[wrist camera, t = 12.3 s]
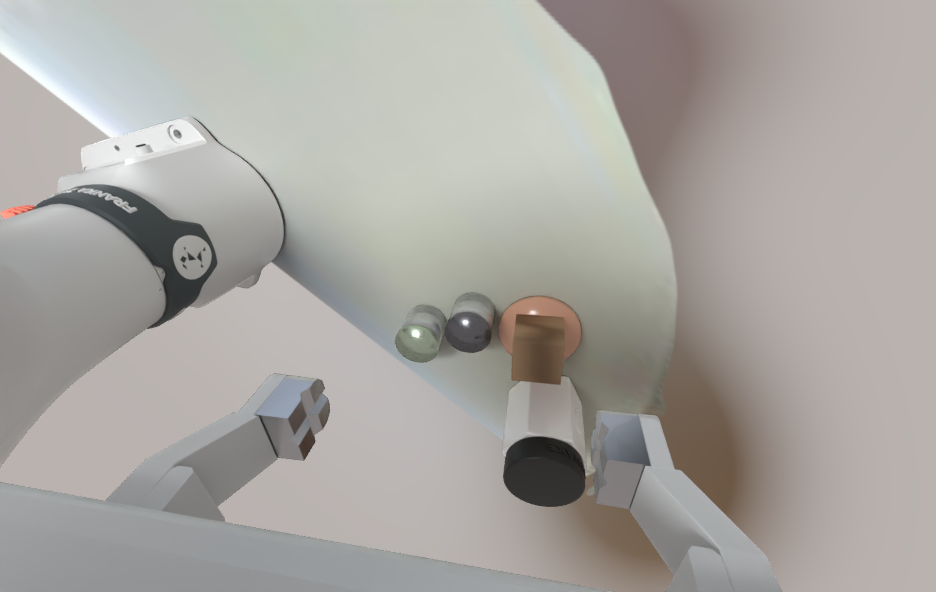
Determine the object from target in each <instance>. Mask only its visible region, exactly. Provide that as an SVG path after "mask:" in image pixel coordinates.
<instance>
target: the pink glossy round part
mask: <svg viewBox="0 0 936 592" xmlns="http://www.w3.org/2000/svg"><path fill="white" fill-rule="evenodd" d="M516 314H526V315H540V316H554V317H564V334H565V352H564V360H565V359H566V358H568V357H569V356H571V355H572V354H573V353H574V352H575V350H576V349H577V347H578V346H579V343H580V340H581V325H580V321H579V319H578V316H577V315H576V313H575V312H574V311H573V310H572V309H571V308H570V307H569V306H568V305H567V304H565V303H564V302H562V301H560V300H558V299H555V298H551V297H547V296H531V297H526V298H523V299H520V300H518V301H516V302H514V303H513V304H511V305H510V306H509V307H508V308H507V309H506V310H505V312H504V313H503V315H502V317H501V320H500V324H499V338H500V341H501V343H502V345H503V347H504V348H505V349H506V351H507V352H508V353H509V354H510V355H512V349H513V336H514V329H515V321H516Z"/></svg>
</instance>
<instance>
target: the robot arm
mask: <svg viewBox="0 0 936 592" xmlns="http://www.w3.org/2000/svg"><path fill="white" fill-rule="evenodd" d="M179 131H180V133H181V135H182V136H181V135H180V133H179ZM81 162H82V167H83V171H81V172H77V173H73V174H69V175H66V176H63V177H61V178H60V180H59V182H58V193H56V194H54V195H52V196H50V197H48V198H47V199H46V200H44V201H42V202H41V203H39V204H37V206H36V207H35V206H31V205H29V206H28V205H26V206H18V207H14V208H10V209H7V210H4V211H2V212H1V213H0V214H1V215H2V217H3V218H4V219H2V220H0V467H1V466H2V464H3V463H4V462H5V460H6V459H7V457H8V456H9V455H10V453H11V452H12V451H13V449H14V448H15V447H16V445H17V444H18V443H19V441H20V440H21V439H22V438H23V436H24V435H25V434H26V433H27V431H28V430H29V429H30V428H31V427H32V426H33V424H34V423H35V422H36V421H37V420H38V418H39V417H40V416H41V415H42V414H43V413H44V411H46V409H47V408H48V407H49V406H50V405H51V404H52V403H53V402H54V401H55V400H56V399H57V398H58V397H59V396H60V395H61V394H62V393H63V392H64V391H65V390H66V389H67V388H69V387H70V386H71V385H72V384H73V383H74V382H76V381H77V380H78V379H79V378H80V377H82V376H83V375H84V374H86V373H87V372H88V371H90V369H92V368H93V367H95V366H96V365H97V364H99V363H100V362H101V361H102V360H104V359H105V358H107V357H108V356H109V355H111V354H112V353H113V352H115V351H116V350H118V349H119V348H120V347H122V346H123V345H124V344H126V343H127V342H129V341H130V340H131V339H133V338H134V337H135V336H137V335H138V334H140V333H141V332H143V331H144V330H145V329H149V328H154V327H157V326H160V325H161V324H163V323H164V322H166V321H168V320H171V319H173V318H175V317H176V316H178V315H179V314H181V313H182V312H183V311H184V310H185V309H186V308H187V307H188V306H191V307H196V308H200V307H203V306H205V305H207V304H208V303H210V302H212V301H213V300H215V299H217V298H219V297H220V296H222V295H223V294H225V293H227V292H228V291H230V290H232V289H233V288H235V287H237V286H238V287H242V288H249V287H251V286H253V285H254V284H256V283H257V281H258V279H259V277H260V274H261V270H262V269H263V267H265V266H266V265H267V264H268V263H270V262H271V261H272V260H273V259H274V258H275V257H276V256H277V254H278V253H279V251H280V249H281V246H282V243H283V236H284V227H283V220H282V216H281V212H280V209H279V206H278V204H277V202H276V199H275V197H274V196H273V194H272V192H271V190H270V189H269V187H268V186H267V184H266V183H265V182H264V180H263V179H262V178H261V177H260V175H259V174H258V173H257V172H256V171H255V170H254V169H253V168H252V167H251V166H250V165H249V164H248V163H246V162H245V161H244V160H243V159H241V158H240V157H239V156H237V155H236V154H234V153H232V152H231V151H229V150H228V149H226V148H224V147H223V146H222V145H220V144H219V143H218V142H216V140H215V139H214V138H213V137H212V136H211V135H210V134H209V132H208V131H207V130H206V129H205V128H204V127H203V126H202V125H201V124H200V123H199V122H198V121H196V120H195V119H194V118H191V117H182V118H179V119H175V120H172V121H169V122H165V123H162V124H158V125H155V126H151V127H148V128H144V129H141V130H138V131H134V132H131V133H127V134H124V135H120V136H117V137H113V138H110V139H107V140H103V141H100V142H96V143H93V144H90V145H87V146H85V147H83V148H82V149H81ZM324 389H325V387H324V384H323V381H322V380H319V379H314V378H306V377H300V376H292V375H283V374H275V373H274V374H272V375H270V376H269V377H268V378H267V379H266V380H265V382H264V383H263V384H262V385H261V386H260V387H259V389H258V390H257V391H256V392H255V393H254V394H253V396H252V397H251V398H250V399H249V400H248V401H247V403H246V404H245V405H244V406H243V407H242V408H241V410H240V411H239V412H238V413H231V414H229V415H227V416H226V417H224V418H222V419H220V420H218V421H216V422H214V423H212V424H211V425H209V426H207V427H205V428H203V429H201V430H199V431H197V432H196V433H194V434H192V435H190V436H188V437H186V438H184V439H182V440H180V441H179V442H177V443H175V444H173V445H171V446H169V447H167V448H165V449H164V450H162V451H160V452H158V453H156V454H154V455H152V456H150V457H149V458H147V459H145V460H144V461H143V462H142V463H141V464H140V465H139V466H138V467H137V469H135V471H133V473H132V474H131V475H130V476H129V477H128V478H127V479H126V480H125V481H124V482H123V483H122V484H121V485H120V486H119V487H118V488H117V489H116V490H115V491H114V492H113V493H112V494H111V495H110V496H109V497H108V498H107V499H106V500H105V501H103V500H97V499H91V498H86V497H80V496H75V495H69V494H63V493H58V492H52V491H46V490H41V489H36V488H30V487H25V486H19V485H14V484H8V483H3V482H0V592H614V591H609V590H603V589H597V588H592V587H586V586H581V585H574V584H569V583H563V582H558V581H552V580H547V579H541V578H536V577H530V576H524V575H519V574H513V573H508V572H502V571H496V570H491V569H485V568H480V567H474V566H468V565H462V564H457V563H452V562H446V561H440V560H434V559H429V558H424V557H418V556H412V555H406V554H401V553H395V552H390V551H384V550H379V549H373V548H367V547H362V546H355V545H350V544H345V543H339V542H333V541H328V540H322V539H316V538H311V537H305V536H299V535H294V534H288V533H283V532H277V531H271V530H266V529H260V528H255V527H249V526H243V525H238V524H232V523H226V522H225V519H224V516H223V515H222V514H221V512H220V511H219V509H218V507H217V506H219V505H220V504H221V503H222V502H224V501H225V500H226V499H228V498H229V497H230V496H231V495H233V494H234V493H235V492H236V491H238V490H239V489H240V488H241V487H243V486H244V485H245V484H247V483H248V482H249V481H250V480H251V479H253V478H254V477H256V476H257V475H258V474H259V473H261V472H262V471H263V470H264V469H266V468H267V467H268V466H270V465H271V464H272V463H273V462H275V461H276V460H277V458H286V459H294V460H303V461H304V460H305V458H306V457H307V455H308V453H309V452H310V450H311V448H312V446H313V445H314V443H315V436H314V435H315V434H316V433H318V432H319V431H321V430H322V429H323V428H324V426H325V424H326V423H327V420H328V417H329V413H330V404H329V400H328V398H327V397H326V396H325V395H323V394H322V392H323V390H324ZM595 421H596V428H595V429H594V430H593V432H592V438H591V462H592V466H593V467H594V468H595V469H596V471H595V475H594V479H593V481H594V489H595V498H596V503H597V504H603V505H609V506H615V507H620V508H626V509H630V512H631V513H632V515H633V517H634V518H635V519H636V521H637V522H638V524H639V525H640V527H641V528H642V530H643V531H644V533H645V534H646V535H647V537H648V538H649V540H650V541H651V543H652V544H653V546H654V547H655V549H656V550H657V552H658V553H659V555H660V556H661V557H662V559H663V560H664V562H665V563H666V565H667V566H668V568H669V569H670V571H671V572H672V574H673V575H674V577H673V579H672V581H671V583H670V585H669V587H668V588H667V590H666V592H782V590H781V588H780V586H779V583H778V581H777V579H776V577H775V574H774V572H773V570H772V567H771V565H770V563H769V560H768V558H767V556H766V555H765V554H764V553H763V552H762V551H761V550H760V549H759V548H758V547H757V546H756V545H755V544H754V543H753V542H752V541H751V540H750V539H749V538H748V537H747V536H746V535H745V534H744V533H743V532H742V531H741V530H740V529H739V528H738V527H737V526H736V525H735V524H734V523H733V522H732V521H731V520H730V519H729V518H728V517H727V516H726V515H725V514H724V513H723V512H722V511H721V510H720V509H719V508H718V507H717V506H716V505H715V504H714V503H713V502H712V501H711V500H710V499H709V498H708V497H707V496H706V495H705V494H704V493H703V492H702V491H701V490H700V489H699V488H698V487H697V486H696V485H695V484H694V483H693V482H692V481H691V480H690V479H689V478H688V477H687V476H686V475H685V474H684V473H683V472H682V471H681V470H675V469H674V465H673V462H672V459H671V455H670V452H669V449H668V446H667V442H666V439H665V436H664V433H663V430H662V426H661V423H660V420H659V418H658V417H657V416H655V415H645V414H635V413H627V412H617V411H607V410H598V411H597V414H596V418H595Z"/></svg>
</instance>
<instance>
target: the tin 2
mask: <svg viewBox="0 0 936 592" xmlns="http://www.w3.org/2000/svg"><path fill="white" fill-rule="evenodd" d="M494 314H495V309H494V306H493V304H492V302H491V301H490V300H489V299H488V298H487V297H486V296H484V295H482V294H479V293H466V294H464V295H462V296H460V297H459V298H458V299H457V301H456V303H455V305H454V308H453V311H452V314H451V316H450V319H449V320H448V322H447V325H446V327H445V336H446V339H447V340H448V342H449V343H450V344H451V345H452V346H453V347H454V348H456V349H457V350H460V351H462V352H467V353H474V352H479V351H481V350H483V349H484V348H486V347H487V346H488V344H489V342H490V339H491V333H492V332H491V329H492V324H493V319H494Z"/></svg>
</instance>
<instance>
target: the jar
mask: <svg viewBox="0 0 936 592" xmlns="http://www.w3.org/2000/svg"><path fill="white" fill-rule="evenodd" d="M502 454H503V455H504V457H505V465H504V474H503V478H504V483H505V485H506V487H507V488H508V490H509V491H510V492H511V493H512V494H513V495H515V496H516V497H518V498H519V499H521V500H523V501H525V502H528V503H530V504H534V505H538V506H546V507H555V506H556V507H557V506H563V505H567V504H570V503H572V502H574V501H576V500H577V499H579V498H580V497H581V495H582V494H583V492H584V489H585V470H586V469H587V462H586V450H585V438H584V426H583V414H582V403H581V401H580V399H579V397H578V395H577V393H576V390H575V388H574V386H573V384H572V382H571V380H570V378H569V377H565V376H561V385H555V384H545V383H535V382H525V381H520V382H519V383H518V384H516V385H515V386H514V387H513V388H512V389H511V390H510V391H509V398H508V406H507V414H506V422H505V430H504V438H503V447H502Z"/></svg>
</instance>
